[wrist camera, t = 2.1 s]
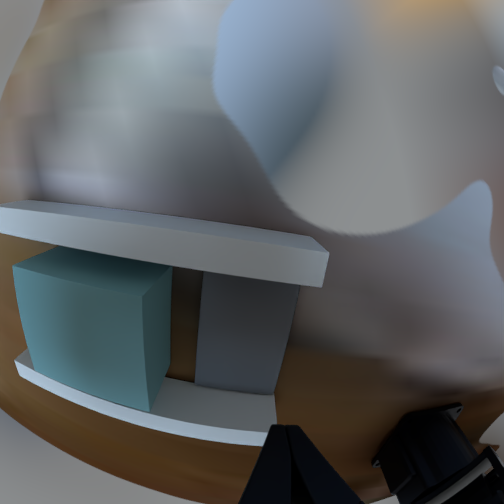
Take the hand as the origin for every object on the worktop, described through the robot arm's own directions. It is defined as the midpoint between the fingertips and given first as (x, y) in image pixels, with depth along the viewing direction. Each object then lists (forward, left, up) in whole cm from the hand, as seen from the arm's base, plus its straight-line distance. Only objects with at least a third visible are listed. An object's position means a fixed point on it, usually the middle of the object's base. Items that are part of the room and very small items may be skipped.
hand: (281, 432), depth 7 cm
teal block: (+8, 0, -6) cm, 10 cm away
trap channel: (+7, 0, -6) cm, 9 cm away
